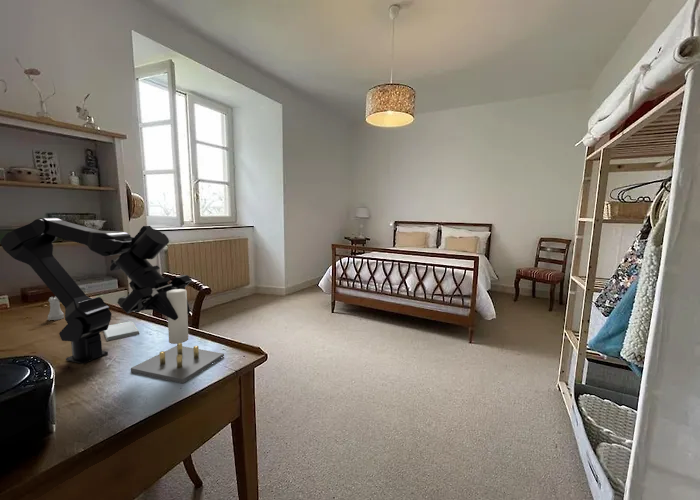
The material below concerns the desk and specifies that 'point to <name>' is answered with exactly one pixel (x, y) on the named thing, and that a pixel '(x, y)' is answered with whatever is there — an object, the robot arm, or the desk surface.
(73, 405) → the desk surface
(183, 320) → the cream post
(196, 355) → the charcoal plate
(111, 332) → the hard drive
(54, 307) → the rook chess piece
